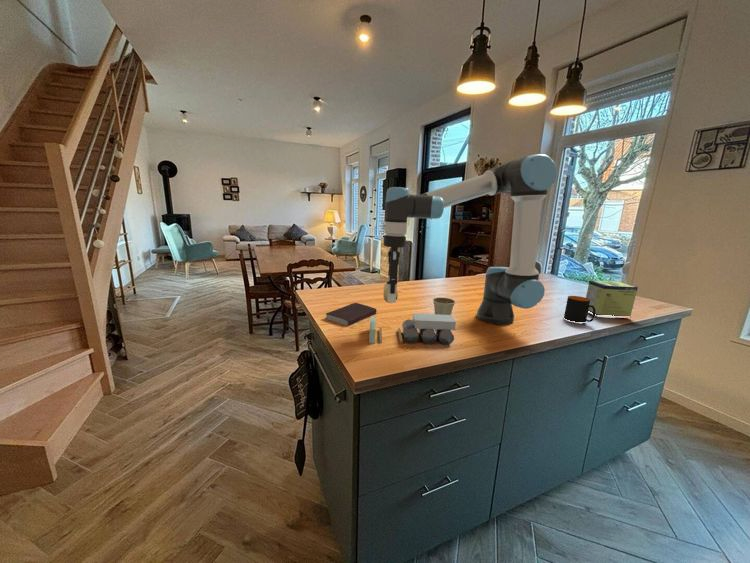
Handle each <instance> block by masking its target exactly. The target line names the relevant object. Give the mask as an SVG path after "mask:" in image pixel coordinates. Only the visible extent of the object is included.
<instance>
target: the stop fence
mask: <svg viewBox="0 0 750 563" xmlns="http://www.w3.org/2000/svg"><path fill="white" fill-rule="evenodd" d="M376 321H377V319H376V317H375V316H370V317H369V338H368V343H369V344H376V329H377V328H376V327H377V323H376Z"/></svg>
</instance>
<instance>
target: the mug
mask: <svg viewBox="0 0 750 563" xmlns="http://www.w3.org/2000/svg"><path fill="white" fill-rule="evenodd" d="M566 300H567V301H566V304H565V311H564V313H563V314H564V316H563V319H564V318H565V319H567V320H570V321H575V322H586V323H587V322H588V323H590V322H591V323H592V322H593V321H594V320H595V318H596V317H595V312H596V310H595V308H594V306H592V305H589V304H590V299H588V298H586V297H585V296H584V297H583V296H579V295H568V296H567V298H566ZM589 307H592V308H593V315H591V318H590V319H588V318H587V317H588V314H589V313H588V309H589Z"/></svg>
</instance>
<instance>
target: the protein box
mask: <svg viewBox="0 0 750 563" xmlns="http://www.w3.org/2000/svg"><path fill="white" fill-rule="evenodd" d="M638 287H639V286H635V285H632V284H629V283H626V282H622V281H610V280H609V281H608V280H607V281H606V280H605V281H604V280H589V281H588V286H587V290H586V295H585V298H588V299H590V304H589V305H592V306H594V308H595V310H596V312H595V314H596V315H612V316H613V315H614V316H630V317H631V316H632V312H633V308H634V305H635V301H636V300H635V299H636V295H637V292H638V289H639V288H638ZM588 311H590V312H592V313H593V308H592V307H589V309H588Z"/></svg>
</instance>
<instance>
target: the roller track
mask: <svg viewBox="0 0 750 563" xmlns="http://www.w3.org/2000/svg"><path fill="white" fill-rule="evenodd" d="M401 327H402V328H400V327H398V328H397V332H398V339H399V344H400V345H402V344H404V342H403V338H404V340H405V342H407V343H408V344H410V345H411V344H416V343H417V342H418V341H419V339H420V337H421V339H422V343H424V344H426V345H432V344H434V343H435V342H436V341H437V338H438V340H439V342H440V343H441V344H442V345H444V346H445V345H446V346H448V345H450V344H452V343H453V342H454V340H455V337H454V333H453V332H452V330H441V329H416V328H414V325H413V322H412V319H406V320H404V321H403V322H402V324H401ZM401 329H402V331H401ZM378 331H379V334H378V335H379V344H382V343H383V329H382V327H379V330H378ZM402 333H403V335H402Z"/></svg>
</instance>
